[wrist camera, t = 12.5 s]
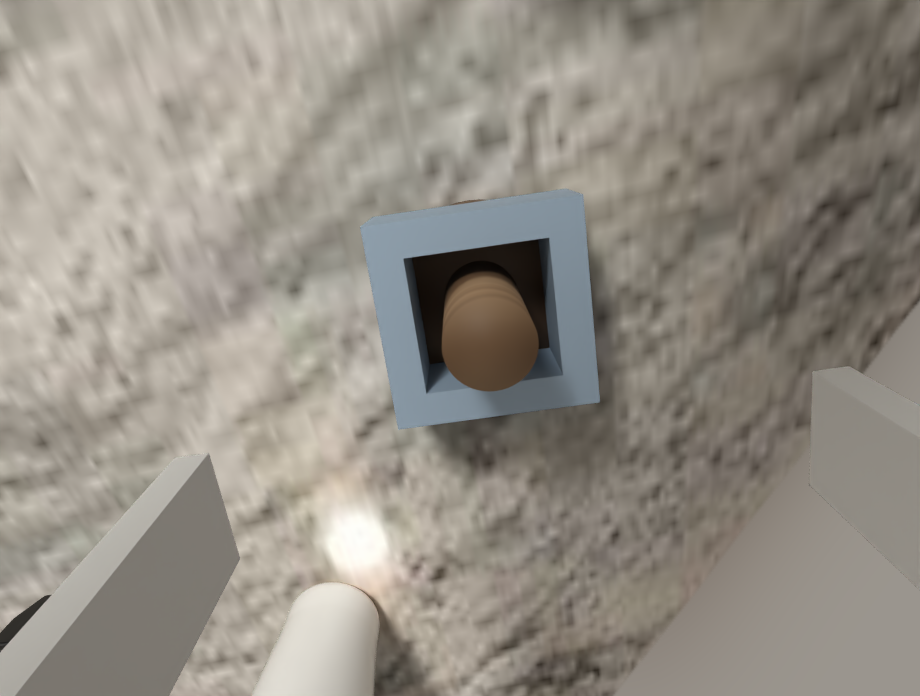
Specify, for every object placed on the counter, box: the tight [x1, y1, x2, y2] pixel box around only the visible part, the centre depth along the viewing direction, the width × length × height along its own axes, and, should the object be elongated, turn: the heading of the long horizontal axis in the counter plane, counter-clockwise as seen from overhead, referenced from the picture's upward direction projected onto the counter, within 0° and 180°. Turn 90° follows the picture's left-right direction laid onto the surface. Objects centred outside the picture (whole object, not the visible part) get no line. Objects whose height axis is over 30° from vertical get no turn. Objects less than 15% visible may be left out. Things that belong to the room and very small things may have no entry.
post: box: [412, 200, 550, 392], centre depth 27 cm, size 9×9×9 cm
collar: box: [360, 189, 600, 430], centre depth 28 cm, size 9×9×4 cm
